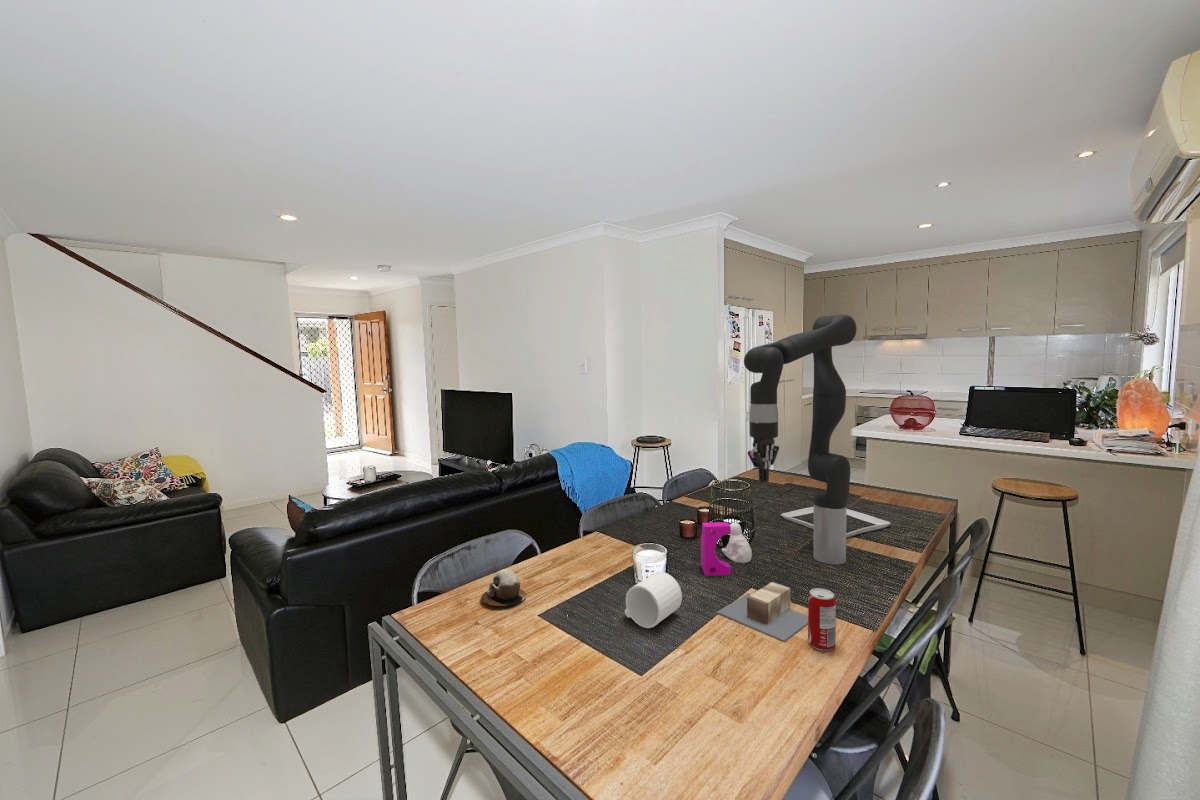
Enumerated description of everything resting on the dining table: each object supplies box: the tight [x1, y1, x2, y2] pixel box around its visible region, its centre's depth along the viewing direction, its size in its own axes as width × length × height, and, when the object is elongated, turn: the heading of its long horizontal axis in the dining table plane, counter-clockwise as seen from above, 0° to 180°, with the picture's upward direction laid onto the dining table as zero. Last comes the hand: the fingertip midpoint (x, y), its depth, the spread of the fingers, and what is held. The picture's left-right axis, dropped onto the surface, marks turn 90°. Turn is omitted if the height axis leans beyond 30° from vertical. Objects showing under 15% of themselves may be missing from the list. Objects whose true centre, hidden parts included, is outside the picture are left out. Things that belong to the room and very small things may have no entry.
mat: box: [716, 593, 808, 643], centre depth 122 cm, size 14×18×1 cm
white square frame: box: [780, 506, 891, 538], centre depth 187 cm, size 27×27×4 cm
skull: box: [480, 568, 527, 607], centre depth 136 cm, size 12×10×10 cm
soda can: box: [807, 587, 837, 652], centre depth 109 cm, size 6×6×12 cm
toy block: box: [700, 521, 732, 576], centre depth 148 cm, size 15×6×8 cm
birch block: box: [747, 581, 792, 625], centre depth 124 cm, size 5×5×12 cm
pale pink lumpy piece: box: [721, 522, 753, 564], centre depth 156 cm, size 6×8×12 cm
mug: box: [624, 571, 683, 629], centre depth 123 cm, size 13×10×10 cm
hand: (763, 481), depth 139 cm, fingers closed
